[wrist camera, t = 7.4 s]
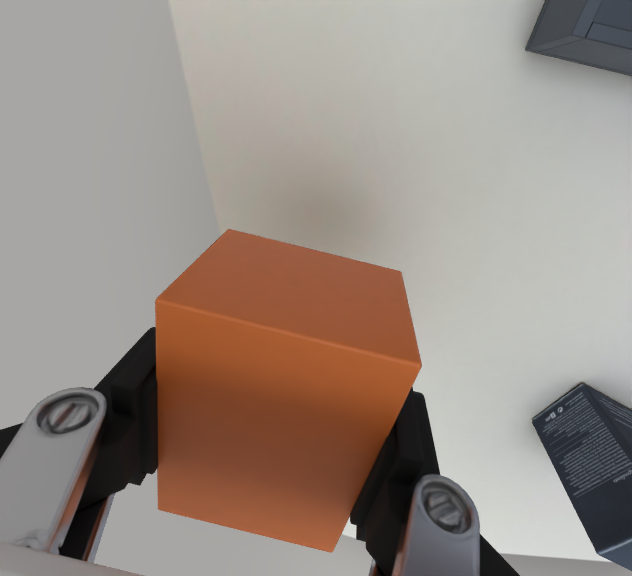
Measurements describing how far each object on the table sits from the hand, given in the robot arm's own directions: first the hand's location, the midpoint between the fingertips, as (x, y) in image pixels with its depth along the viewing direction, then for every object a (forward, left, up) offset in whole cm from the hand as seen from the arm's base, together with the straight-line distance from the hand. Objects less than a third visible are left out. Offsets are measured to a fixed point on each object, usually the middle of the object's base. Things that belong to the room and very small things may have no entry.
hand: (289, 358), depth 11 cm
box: (+25, -12, -16) cm, 32 cm away
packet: (0, 0, -1) cm, 1 cm away
